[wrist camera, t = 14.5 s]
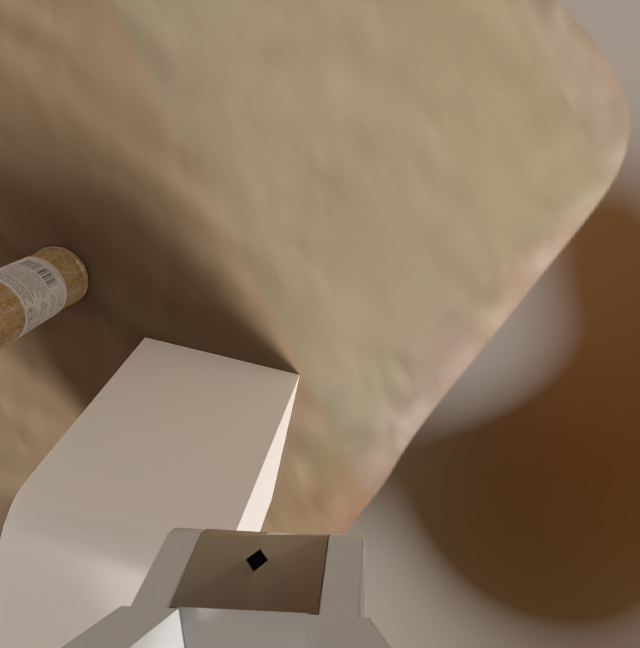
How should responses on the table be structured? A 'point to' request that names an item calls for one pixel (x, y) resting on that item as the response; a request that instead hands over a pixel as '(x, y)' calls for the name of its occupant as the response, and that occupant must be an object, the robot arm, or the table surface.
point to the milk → (138, 485)
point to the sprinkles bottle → (38, 290)
